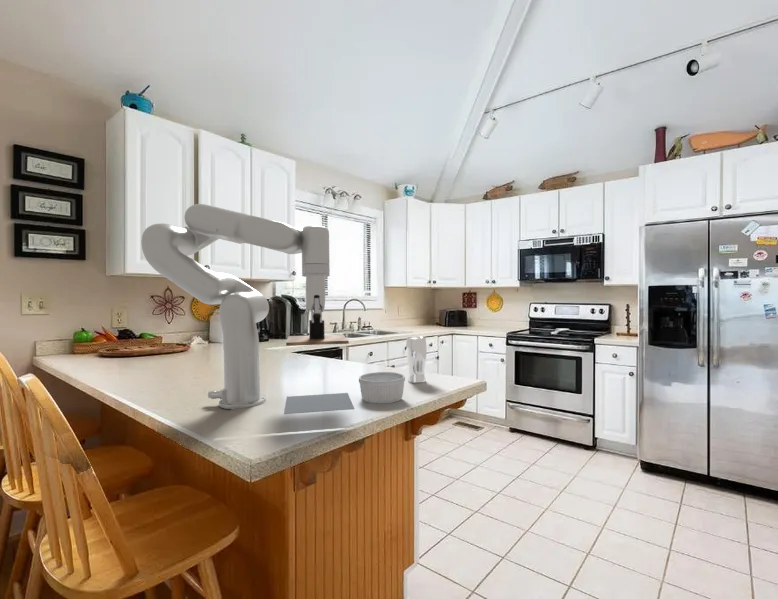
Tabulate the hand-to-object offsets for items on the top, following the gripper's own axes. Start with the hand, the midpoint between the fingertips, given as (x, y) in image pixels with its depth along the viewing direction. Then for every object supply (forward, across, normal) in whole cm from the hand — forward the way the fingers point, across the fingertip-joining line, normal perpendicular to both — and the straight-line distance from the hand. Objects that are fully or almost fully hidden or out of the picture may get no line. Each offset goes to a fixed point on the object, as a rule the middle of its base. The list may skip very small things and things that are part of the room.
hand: (316, 336), depth 117 cm
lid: (+1, 0, 0) cm, 1 cm away
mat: (+19, 0, 0) cm, 19 cm away
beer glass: (+19, -21, +34) cm, 44 cm away
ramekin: (+19, 0, +18) cm, 27 cm away
